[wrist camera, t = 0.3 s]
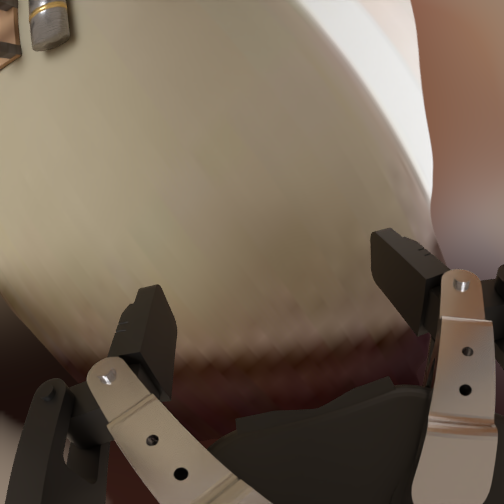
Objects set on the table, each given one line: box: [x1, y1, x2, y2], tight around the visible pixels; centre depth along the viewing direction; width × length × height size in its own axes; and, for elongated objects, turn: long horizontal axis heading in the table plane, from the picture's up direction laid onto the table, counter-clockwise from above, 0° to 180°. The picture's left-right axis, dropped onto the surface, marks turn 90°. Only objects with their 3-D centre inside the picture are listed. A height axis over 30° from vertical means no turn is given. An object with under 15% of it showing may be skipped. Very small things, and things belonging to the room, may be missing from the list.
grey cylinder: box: [29, 0, 70, 51], centre depth 22 cm, size 11×5×5 cm, turn 12°
